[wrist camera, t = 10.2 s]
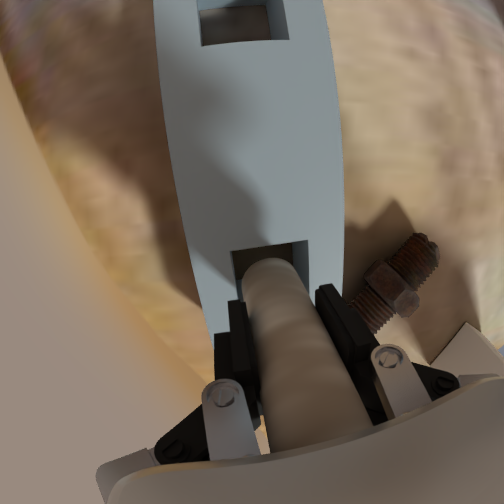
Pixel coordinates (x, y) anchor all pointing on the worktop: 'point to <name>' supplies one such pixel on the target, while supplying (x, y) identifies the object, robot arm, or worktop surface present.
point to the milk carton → (470, 355)
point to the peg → (297, 362)
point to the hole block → (253, 144)
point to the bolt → (396, 282)
